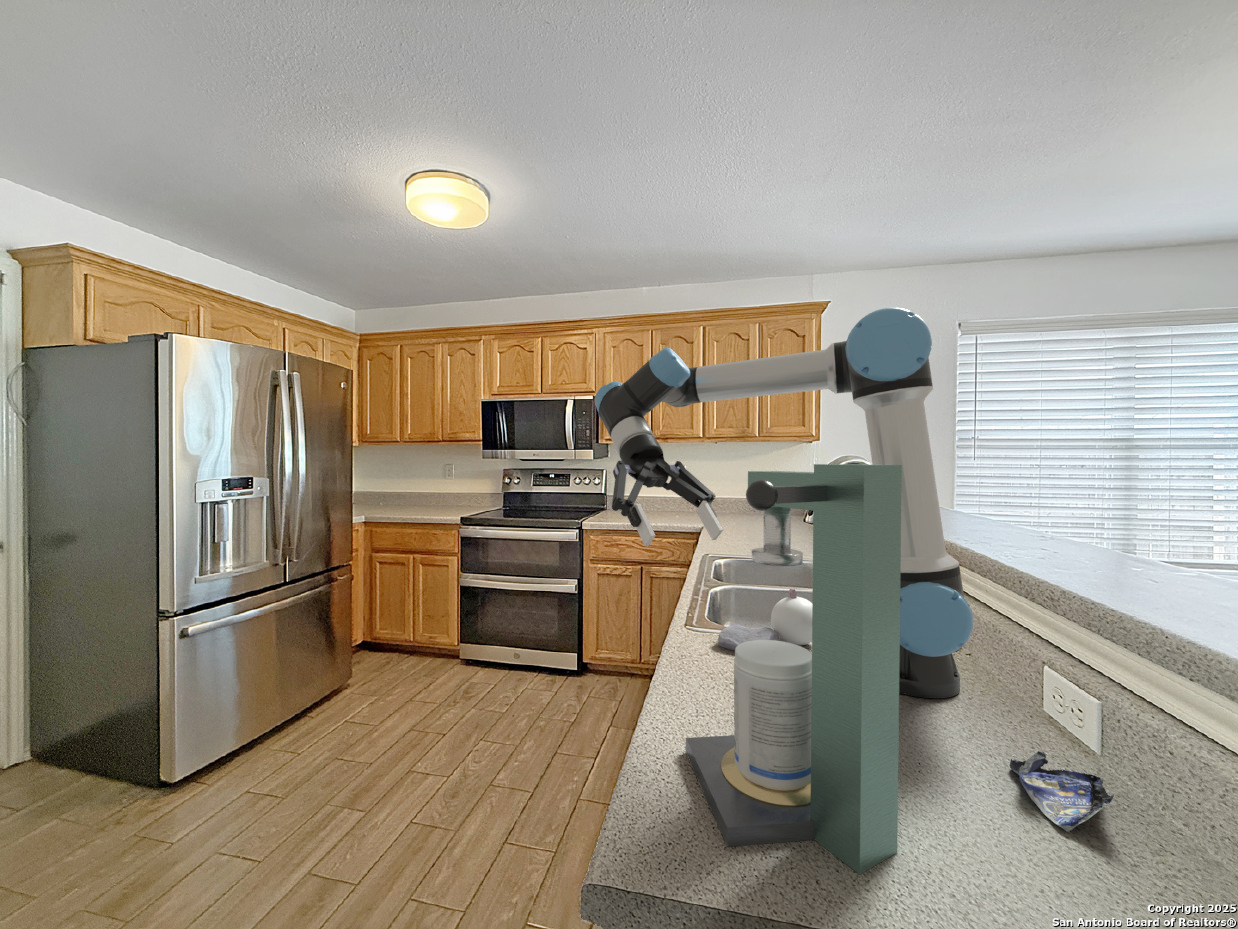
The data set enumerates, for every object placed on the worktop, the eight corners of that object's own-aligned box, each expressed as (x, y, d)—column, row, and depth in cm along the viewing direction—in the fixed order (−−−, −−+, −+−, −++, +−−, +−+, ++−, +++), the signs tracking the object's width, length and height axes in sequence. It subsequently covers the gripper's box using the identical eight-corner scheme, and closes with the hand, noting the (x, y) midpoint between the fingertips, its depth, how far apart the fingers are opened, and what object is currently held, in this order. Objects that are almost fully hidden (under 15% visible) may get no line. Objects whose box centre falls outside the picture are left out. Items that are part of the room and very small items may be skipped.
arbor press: (809, 745, 76) (812, 463, 75) (921, 871, 53) (926, 465, 52) (685, 752, 74) (687, 462, 73) (744, 887, 50) (748, 464, 50)
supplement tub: (831, 778, 64) (833, 656, 64) (777, 805, 59) (778, 672, 59) (769, 742, 72) (770, 633, 72) (717, 762, 67) (718, 646, 67)
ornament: (761, 641, 119) (762, 587, 118) (790, 633, 124) (791, 582, 124) (801, 655, 110) (801, 597, 110) (830, 646, 116) (830, 591, 116)
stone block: (768, 669, 108) (781, 645, 116) (766, 647, 107) (780, 624, 116) (713, 659, 114) (729, 637, 123) (711, 638, 114) (727, 617, 122)
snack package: (975, 792, 66) (1101, 852, 55) (979, 737, 66) (1103, 785, 56) (1023, 780, 72) (1144, 831, 61) (1025, 729, 72) (1146, 771, 62)
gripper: (682, 461, 108) (732, 546, 95) (570, 460, 95) (609, 558, 83) (699, 433, 103) (754, 519, 90) (583, 429, 91) (627, 528, 78)
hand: (685, 538), depth 86 cm, fingers open, 13 cm apart
